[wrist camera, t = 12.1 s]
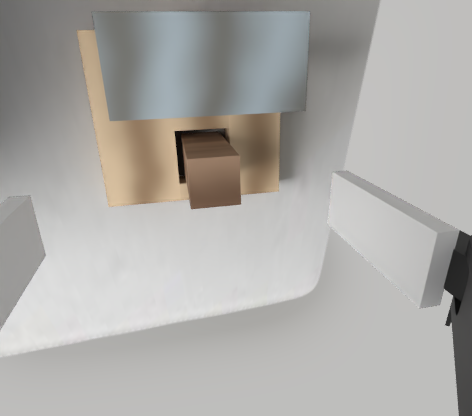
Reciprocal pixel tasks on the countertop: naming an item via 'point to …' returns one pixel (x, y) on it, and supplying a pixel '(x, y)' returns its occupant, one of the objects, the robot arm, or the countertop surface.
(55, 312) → the countertop surface
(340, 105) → the countertop surface
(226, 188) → the peg
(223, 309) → the countertop surface
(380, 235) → the robot arm
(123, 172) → the socket board
